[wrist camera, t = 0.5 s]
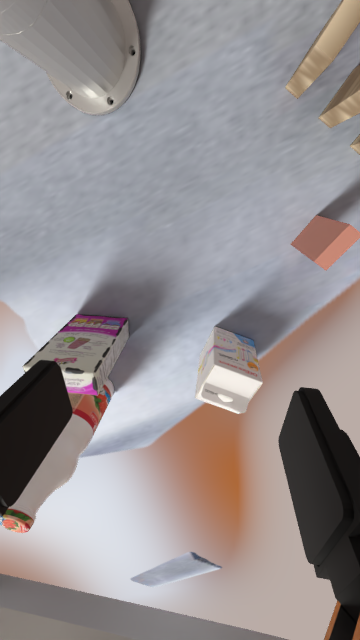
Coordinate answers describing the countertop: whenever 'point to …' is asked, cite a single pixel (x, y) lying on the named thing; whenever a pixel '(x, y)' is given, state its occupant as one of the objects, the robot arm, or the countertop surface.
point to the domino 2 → (344, 101)
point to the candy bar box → (85, 351)
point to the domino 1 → (326, 46)
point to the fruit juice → (59, 458)
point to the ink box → (228, 371)
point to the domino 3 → (325, 240)
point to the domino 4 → (356, 145)
